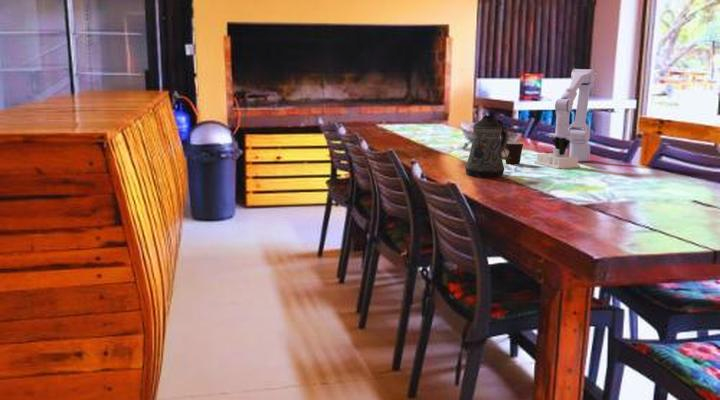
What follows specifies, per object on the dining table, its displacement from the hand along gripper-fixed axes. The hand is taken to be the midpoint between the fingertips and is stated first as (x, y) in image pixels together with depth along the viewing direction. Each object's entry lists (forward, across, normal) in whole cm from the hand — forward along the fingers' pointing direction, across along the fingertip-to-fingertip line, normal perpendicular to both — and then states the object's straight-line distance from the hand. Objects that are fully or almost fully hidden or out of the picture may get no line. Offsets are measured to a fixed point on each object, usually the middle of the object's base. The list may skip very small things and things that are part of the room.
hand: (560, 154), depth 313 cm
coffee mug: (+6, -15, -16) cm, 23 cm away
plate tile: (+4, 0, 0) cm, 4 cm away
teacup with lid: (+6, -34, -11) cm, 36 cm away
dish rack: (+5, -2, 0) cm, 6 cm away
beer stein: (+6, +5, -45) cm, 46 cm away
